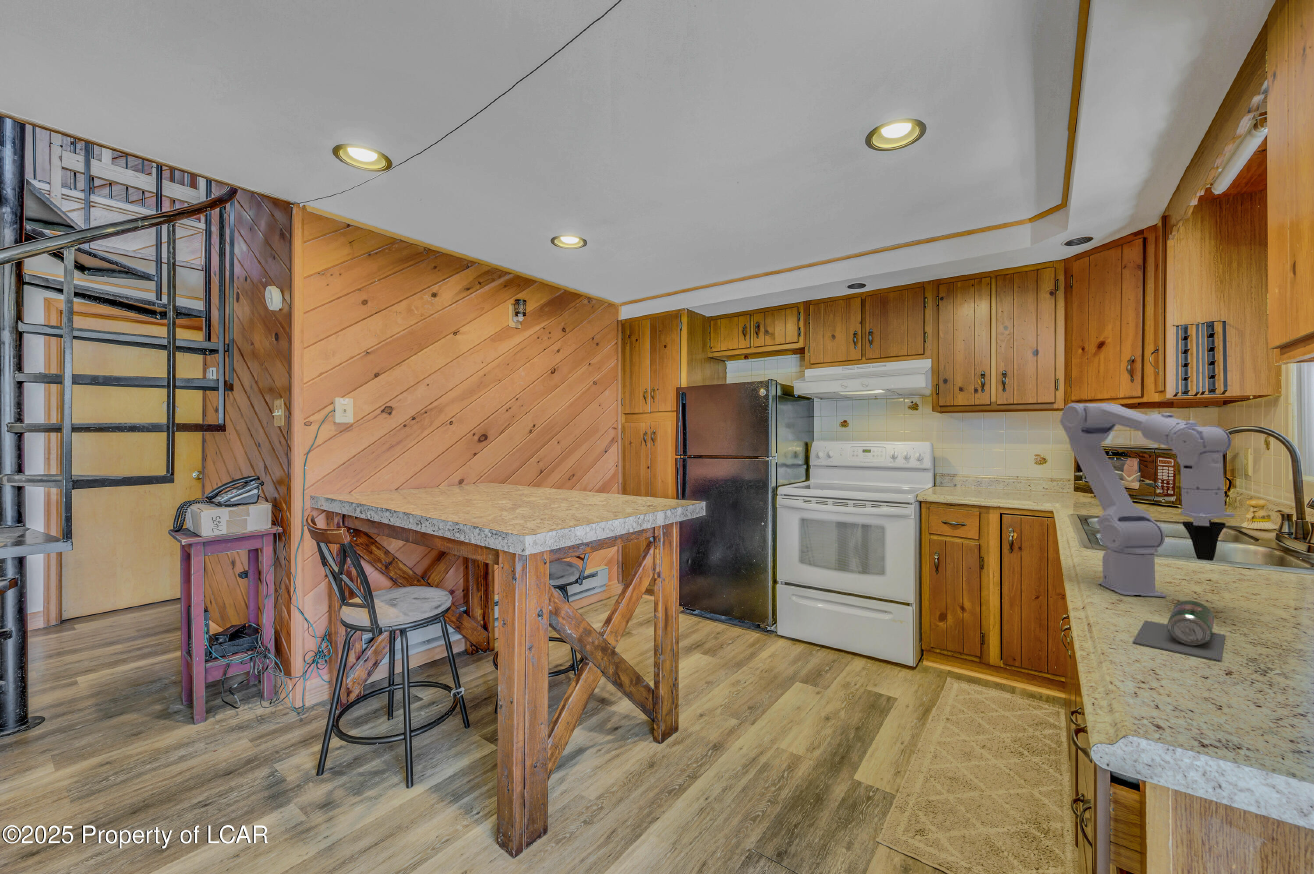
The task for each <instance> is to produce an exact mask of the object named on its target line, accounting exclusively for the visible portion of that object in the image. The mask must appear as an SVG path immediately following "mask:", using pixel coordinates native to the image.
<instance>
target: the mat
mask: <svg viewBox="0 0 1314 874" xmlns="http://www.w3.org/2000/svg"><path fill="white" fill-rule="evenodd" d="M1224 640H1226V634H1223V633H1222V634H1221V633H1219V632H1212V635H1211V639H1210V640H1209V641H1208V642H1207V643H1206V644H1204V645H1201V646H1191V645H1186V644H1183V643H1181V642H1179V641H1177V640H1176V639H1174V638H1173V637H1172V636H1171V634H1170V633H1169V631H1168V629H1167V623H1161V622H1157V621H1152V620H1146V619H1145V620H1144V621H1143V623H1142V625H1141V627H1140V628H1139V630H1138V632H1137V633H1136V635H1135V637H1134V638H1133V640H1132V644H1133V643H1134V644H1133V645H1137V644H1139V645H1138V646H1142V645H1143V646H1142V647H1148V648H1152V649H1156V648H1157V650H1161V651H1167V652H1172V653H1175V654H1179V655H1180V654H1181V655H1185V656H1190V657H1195V658H1199V657H1201V659H1204V658H1206V659H1205V660H1209V659H1210V660H1209V661H1214V660H1215V661H1214V662H1219V661H1221V660H1222V658H1223V654H1224V647H1225V641H1224ZM1221 662H1222V661H1221Z"/></svg>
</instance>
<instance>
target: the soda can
mask: <svg viewBox="0 0 1314 874" xmlns="http://www.w3.org/2000/svg"><path fill="white" fill-rule="evenodd" d="M1166 624H1167V629H1168V631H1169V633H1170V634H1171V636H1172V637H1173V638H1174V639H1176V640H1177V641H1179V642H1181V643H1183V644H1186V645H1191V646H1201V645H1204V644H1206V643H1207V642H1208V641H1209V640H1210V639H1211V635H1212V633H1213V628H1214V624H1215V616H1214V613H1213V612H1212V610H1211V608H1209V607H1208V606H1206V604H1203V603H1201V602H1199V601H1196V600H1195V601H1194V600H1183V601H1179V602H1177V604H1175V605H1174V607H1173V609H1172V611H1171V614H1170V616H1169V618H1168V620H1167V623H1166Z"/></svg>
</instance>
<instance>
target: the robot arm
mask: <svg viewBox="0 0 1314 874" xmlns="http://www.w3.org/2000/svg"><path fill="white" fill-rule="evenodd" d="M1059 419H1060V420H1059V423H1060V425H1061V427H1062V429H1063V431H1064V432H1065V435H1066V436H1067V438H1068V441H1069V443H1068V444H1069V446H1070V449H1071V451H1072V453H1073V455H1074V457H1075V458H1076V461H1077V463H1078V464H1079V466H1080V469H1081V471H1082V472H1083V474H1084V476H1085V478H1086V480H1087V482H1088V484H1089V486H1090V487H1091V490H1092V492H1093V493H1094V495H1095V497H1096V500H1097V501H1098V503H1099V505H1100V507H1101V510H1102V511H1103V512H1102V514H1101V515H1100V516H1099V517H1098V519H1097V520H1096V523H1097V526H1098V529H1099V534H1100V539H1101V541H1102V543H1103V544H1104V545H1105V546H1106V548H1107V549H1106V550H1105V552H1103V555H1102V559H1101V560H1102V562H1101V563H1102V565H1101V566H1102V581H1098V583H1099V584H1098V585H1100V584H1101V585H1100V586H1103V587H1104V588H1107V589H1109V590H1111V591H1113V590H1114V592H1116V593H1118V594H1120V595H1122V594H1123V596H1134V595H1141V596H1140V597H1160V598H1166V597H1167V596H1168V595H1167V594H1166V593H1164V592H1161V591H1158V590H1156V560H1155V559H1156V558H1155V553H1156V554H1157V553H1158V552H1159V551H1158V550H1159V549H1160V548H1161V547H1162V546H1163V545H1164V543H1165V540H1166V534H1165V531H1164V529H1163V527H1162V526H1161V525H1160V524H1159V523H1158V522H1156V521H1155V520H1154V519H1153V518H1152V516H1151V514H1150V512H1147V511H1146V510H1143V509H1142V508H1140V507H1139V506H1136V505H1135V504H1134V503H1133V500H1132V499H1131V497H1130V495H1129V494H1128V492H1127V490H1126V488H1125V486H1124V484H1123V483H1122V481H1121V479H1120V478H1119V475H1118V474H1117V472H1116V470H1115V468H1114V467H1113V465H1112V463H1111V460H1110V459H1109V457H1108V456H1107V454H1106V452H1105V450H1104V447H1102V443H1103V442H1105V441H1107V440H1108V439H1109V437H1110V436H1111V434H1112V432H1113V431H1114V429H1115V428H1116V426H1121V427H1125V428H1128V429H1131V430H1135V431H1139V432H1140V433H1141V435H1142V437H1143V438H1144V439H1146V440H1148V441H1150V442H1153V443H1156V444H1158V445H1159V444H1160V445H1161V446H1165V447H1167V448H1168V447H1169V448H1171V450H1172V451H1173V453H1175V455H1176V462H1178V464H1179V465H1180V487H1181V488H1180V489H1181V507H1182V508H1181V510H1180V514H1181V516H1185V517H1188V518H1190V519H1191V518H1192V521H1189V520H1188V521H1185V520H1184V521H1182V524H1181V525H1182V526H1183V527H1184V529H1185V531H1186V532H1187V534H1188V536H1189V538H1190V540H1191V543H1192V547H1193V550H1194V553H1195V554H1194V555H1195V557H1196V559H1197V560H1201V561H1211V562H1213V561H1214V559H1215V556H1216V552H1217V546H1218V541H1219V538H1220V536H1221V533H1223V530H1224V529H1225V528H1226V525H1227V523H1226V522H1225V521H1224V522H1222V521H1213V520H1215V519H1216V520H1217V519H1224V518H1235V513H1234V512H1226V503H1225V483H1224V481H1225V480H1224V479H1225V477H1224V455H1225V454H1226V453H1227V452H1228V451H1229V450H1230V448H1231V446H1232V436H1231V435H1230V433H1229V432H1228V431H1227V430H1226V429H1225V428H1222V427H1220V426H1218V425H1207V426H1200V425H1199V424H1198V422H1197V421H1195V420H1187V421H1186V420H1183V419H1179V418H1175V415H1174V414H1173V413H1169V412H1165V413H1164V412H1162V413H1158V414H1157V413H1156V414H1154V415H1153V414H1152V415H1151V416H1149V415H1147V414H1143V413H1141V412H1138V411H1135V410H1133V409H1129V408H1127V407H1124V406H1122V405H1121V404H1117V403H1116V404H1115V403H1113V402H1103V403H1076V402H1072V403H1069V404H1067V405H1066V406H1064V408H1063V410H1062V413H1061V416H1060V418H1059Z"/></svg>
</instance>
